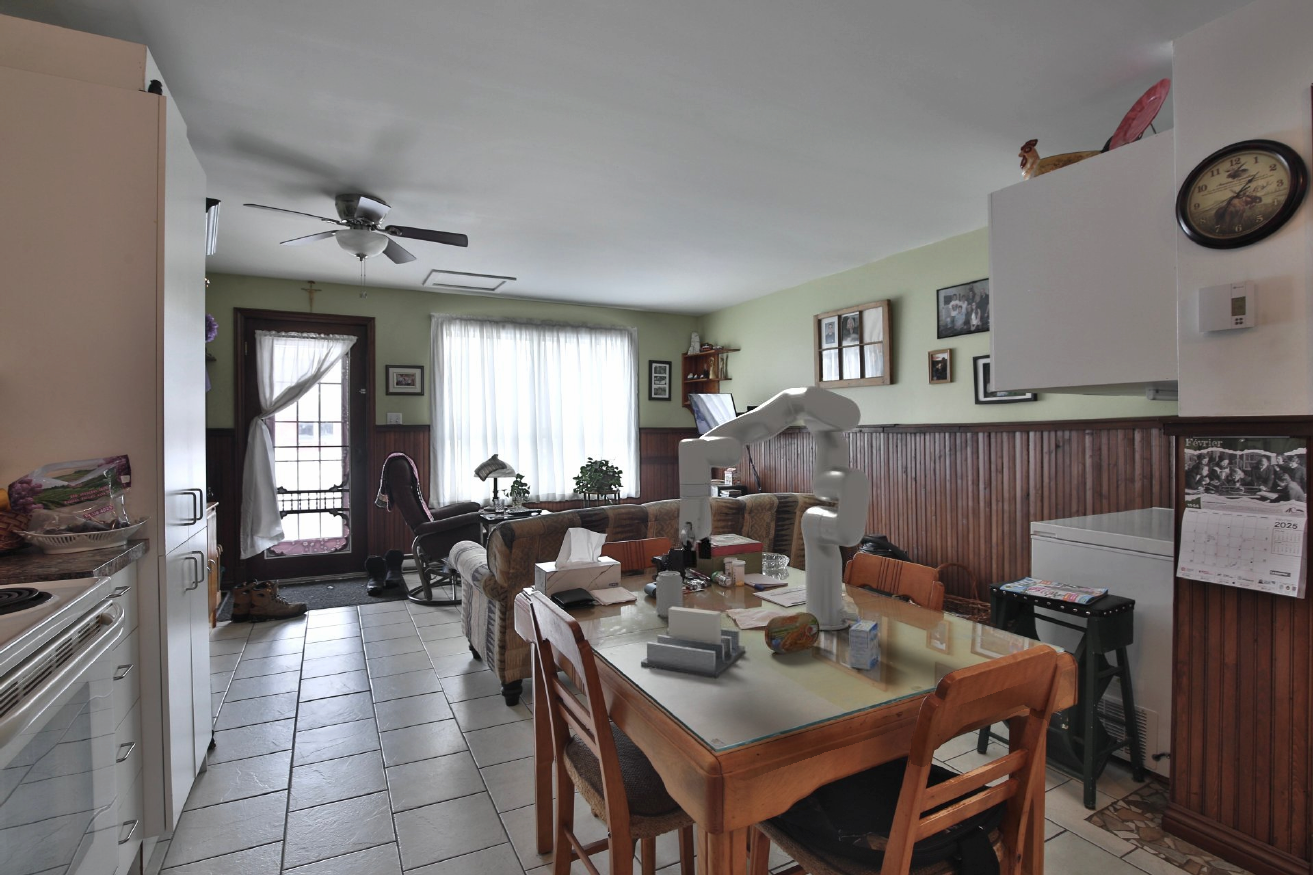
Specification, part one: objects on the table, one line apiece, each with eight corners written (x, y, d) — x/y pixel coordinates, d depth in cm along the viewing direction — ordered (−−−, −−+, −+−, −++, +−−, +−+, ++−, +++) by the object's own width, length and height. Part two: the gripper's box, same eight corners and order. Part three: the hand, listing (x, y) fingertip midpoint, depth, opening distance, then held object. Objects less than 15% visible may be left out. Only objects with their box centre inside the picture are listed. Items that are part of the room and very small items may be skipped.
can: (680, 618, 181) (679, 576, 181) (654, 617, 183) (653, 575, 183) (684, 611, 189) (684, 570, 188) (659, 610, 190) (658, 569, 190)
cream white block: (673, 648, 154) (672, 606, 154) (721, 655, 149) (720, 611, 149) (668, 651, 151) (668, 609, 151) (717, 658, 146) (717, 614, 146)
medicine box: (869, 671, 141) (869, 631, 140) (849, 667, 143) (848, 628, 143) (878, 659, 147) (878, 621, 147) (858, 656, 150) (858, 618, 150)
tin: (770, 656, 150) (770, 620, 150) (762, 652, 153) (762, 617, 153) (820, 645, 157) (820, 611, 157) (812, 642, 160) (811, 608, 160)
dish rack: (744, 650, 155) (744, 629, 155) (716, 678, 137) (716, 654, 137) (675, 640, 162) (675, 620, 162) (641, 666, 145) (640, 643, 145)
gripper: (694, 487, 163) (696, 554, 163) (666, 494, 147) (668, 569, 148) (722, 487, 160) (724, 556, 160) (697, 495, 144) (699, 572, 144)
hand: (697, 562), depth 154 cm, fingers open, 9 cm apart
